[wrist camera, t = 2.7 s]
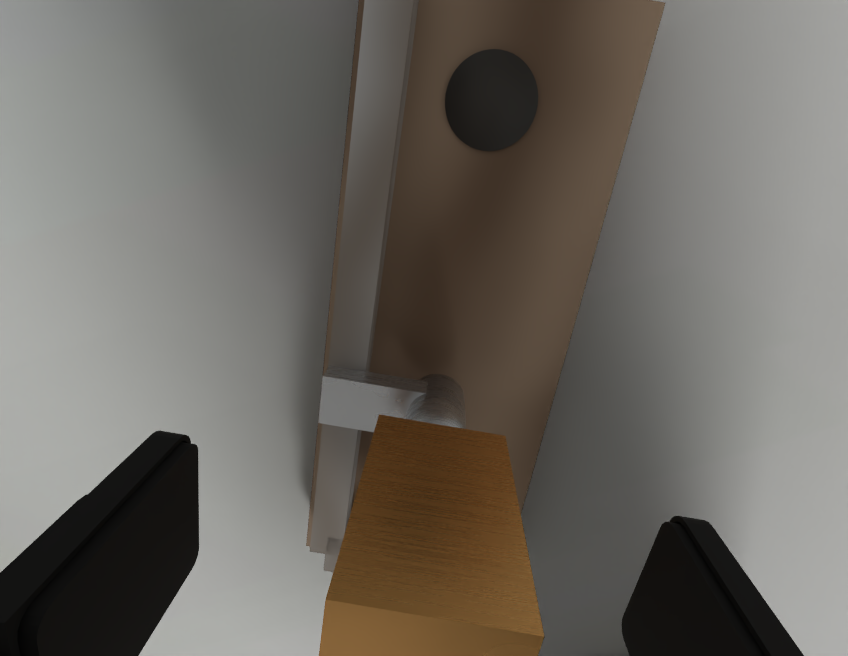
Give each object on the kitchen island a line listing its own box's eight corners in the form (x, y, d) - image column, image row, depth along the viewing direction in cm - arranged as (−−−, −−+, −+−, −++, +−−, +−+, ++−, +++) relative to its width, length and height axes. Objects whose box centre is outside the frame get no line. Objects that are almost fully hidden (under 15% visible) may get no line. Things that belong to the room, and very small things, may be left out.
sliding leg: (490, 357, 16) (544, 636, 6) (472, 436, 17) (497, 772, 7) (339, 332, 16) (179, 574, 6) (330, 412, 17) (182, 720, 7)
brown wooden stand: (643, 18, 14) (1171, -374, 4) (496, 559, 21) (539, 942, 11) (372, -27, 14) (152, -546, 4) (315, 528, 21) (183, 883, 11)
